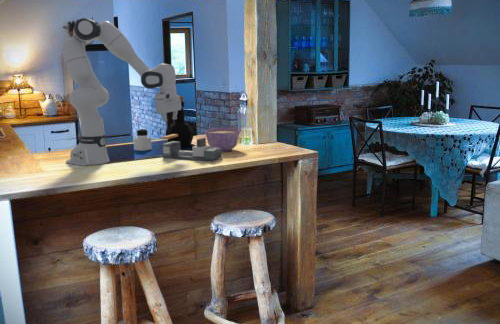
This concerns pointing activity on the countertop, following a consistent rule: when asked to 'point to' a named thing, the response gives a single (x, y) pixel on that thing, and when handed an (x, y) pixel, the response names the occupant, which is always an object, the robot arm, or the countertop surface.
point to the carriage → (200, 147)
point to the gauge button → (170, 136)
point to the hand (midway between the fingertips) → (169, 120)
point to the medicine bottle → (142, 141)
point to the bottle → (181, 129)
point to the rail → (189, 152)
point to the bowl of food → (223, 138)
